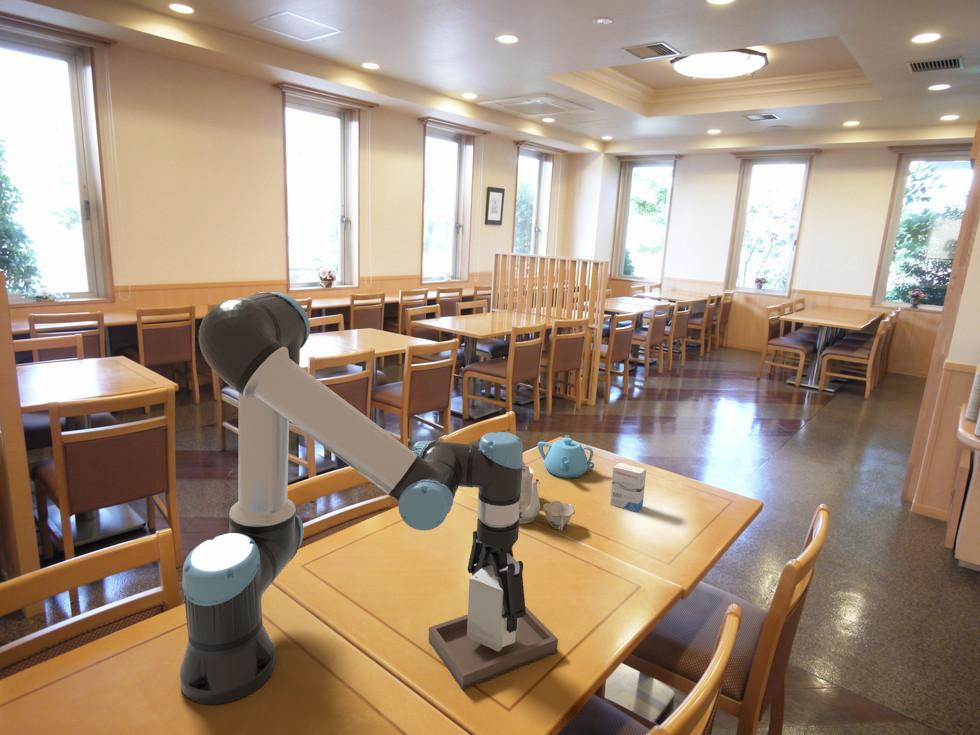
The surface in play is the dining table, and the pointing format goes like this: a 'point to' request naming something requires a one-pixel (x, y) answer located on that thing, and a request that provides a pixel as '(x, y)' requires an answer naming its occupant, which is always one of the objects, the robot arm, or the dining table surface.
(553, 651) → the tray
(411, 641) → the dining table surface
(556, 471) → the teapot
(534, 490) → the chinaware
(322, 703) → the dining table surface
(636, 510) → the ink box
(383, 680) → the dining table surface
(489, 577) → the supplement box
